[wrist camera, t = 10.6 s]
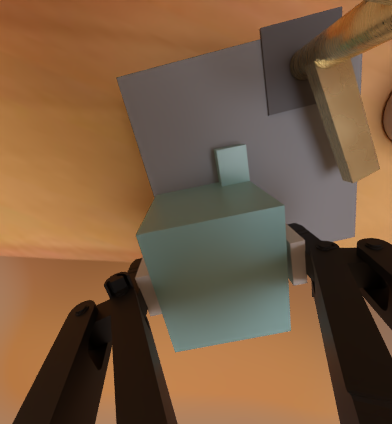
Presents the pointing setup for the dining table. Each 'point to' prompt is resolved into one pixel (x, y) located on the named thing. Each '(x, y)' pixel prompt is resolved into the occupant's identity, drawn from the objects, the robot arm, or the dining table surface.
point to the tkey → (345, 83)
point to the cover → (218, 258)
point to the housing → (245, 125)
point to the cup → (388, 118)
